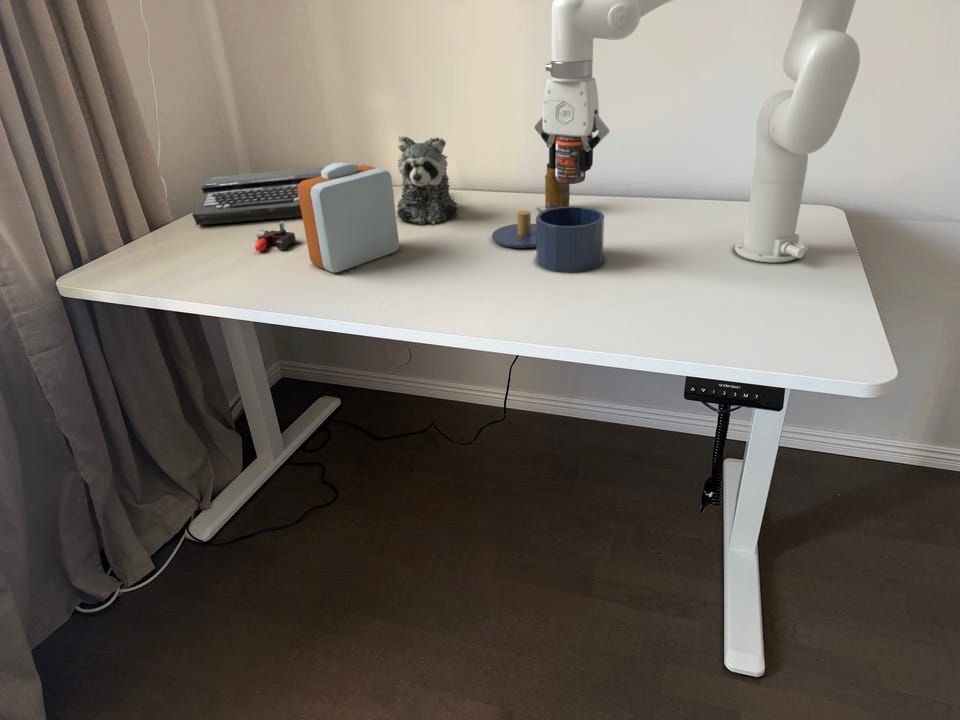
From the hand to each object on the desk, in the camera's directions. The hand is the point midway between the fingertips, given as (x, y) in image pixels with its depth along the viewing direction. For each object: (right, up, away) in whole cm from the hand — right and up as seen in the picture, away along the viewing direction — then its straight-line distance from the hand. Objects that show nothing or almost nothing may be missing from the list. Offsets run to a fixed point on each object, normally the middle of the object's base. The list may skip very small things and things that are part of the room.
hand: (570, 167), depth 137 cm
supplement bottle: (0, -2, +1) cm, 3 cm away
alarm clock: (-45, -16, +17) cm, 51 cm away
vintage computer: (-72, +5, +56) cm, 91 cm away
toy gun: (-68, -11, +27) cm, 74 cm away
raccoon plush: (-33, +1, +45) cm, 55 cm away
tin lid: (-8, -10, +22) cm, 25 cm away
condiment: (+2, -1, +39) cm, 39 cm away
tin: (+1, -17, +10) cm, 19 cm away
